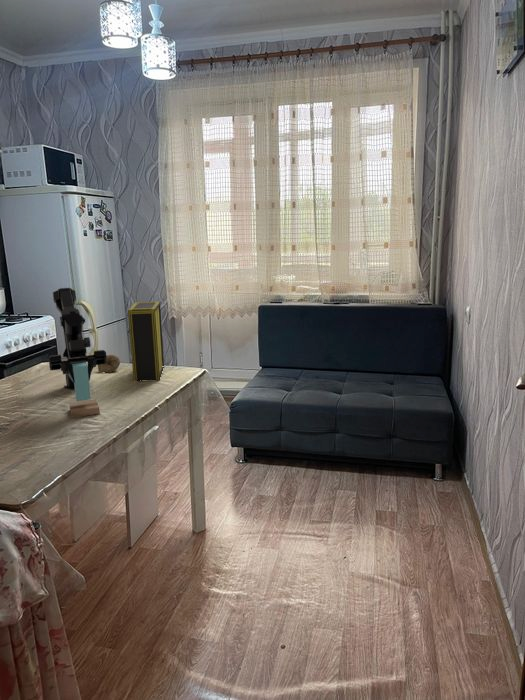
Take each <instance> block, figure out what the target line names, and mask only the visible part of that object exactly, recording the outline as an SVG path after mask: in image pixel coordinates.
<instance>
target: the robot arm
mask: <svg viewBox="0 0 525 700" xmlns="http://www.w3.org/2000/svg"><path fill="white" fill-rule="evenodd" d="M52 300H53V304H55V308H56V309H57V311H58V312H59V313H60V315H61V316H59V323H60V325H59V326H60V327H62V330H63V337H64V345H65V349H64V351H63V354H62V355H61V354H54V355H50V356H49V357H48V364H49V370H50V371H59V370H61V372H62V375H65V382H66V385H63V388H65V389H70V390H75V386H74V383H75V380H74V375H73V368H72V364H77V363H85V362H86V363H87V367H88V377H89V382H90V380H91V376H92V372H93V369H94V368H96V367H97V366H98V365H101V364H105V363H106V357H107V356H108V355H107V351H105V350H104V349H98V350H93V354H90V355H87V348H90V347H91V339H90V337H89V336H87V337H84V336H83V325H84V324H85V323H86V318H85V317H84V316H83V314H81V313H80V310H79V308H76V307H75V303H76V302H77V294H76V290H75V289H72V288H71V287H60V288H58V289H56V290H55V291H53V292H52Z"/></svg>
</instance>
